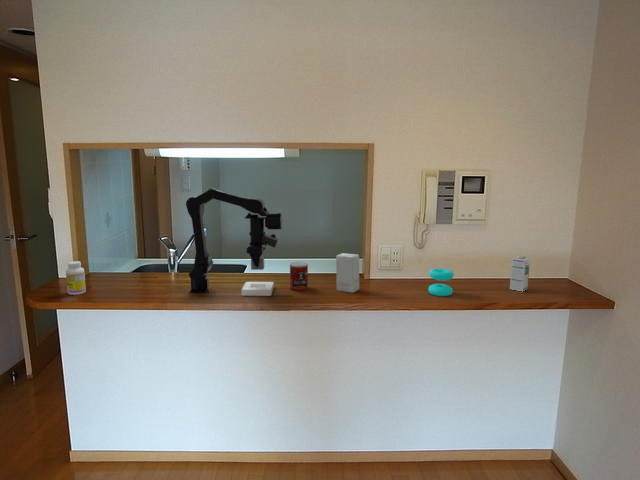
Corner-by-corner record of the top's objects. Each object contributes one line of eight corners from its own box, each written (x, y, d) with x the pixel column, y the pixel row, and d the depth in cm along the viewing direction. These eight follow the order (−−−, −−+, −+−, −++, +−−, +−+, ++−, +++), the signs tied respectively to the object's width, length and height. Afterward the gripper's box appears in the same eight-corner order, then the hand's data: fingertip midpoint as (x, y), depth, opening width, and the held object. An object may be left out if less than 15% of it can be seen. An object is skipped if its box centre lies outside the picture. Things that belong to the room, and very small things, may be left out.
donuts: (433, 266, 192) (456, 269, 187) (432, 288, 194) (455, 292, 188) (426, 271, 184) (449, 274, 178) (424, 294, 185) (448, 298, 180)
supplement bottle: (65, 293, 182) (62, 262, 179) (82, 289, 187) (79, 259, 184) (71, 296, 177) (68, 265, 175) (88, 292, 182) (86, 262, 180)
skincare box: (359, 289, 191) (360, 254, 188) (352, 293, 185) (353, 257, 183) (342, 286, 195) (343, 252, 192) (335, 290, 190) (335, 254, 187)
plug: (251, 269, 183) (250, 257, 182) (252, 267, 187) (252, 255, 186) (263, 269, 183) (263, 257, 182) (264, 267, 187) (264, 255, 186)
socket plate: (241, 295, 181) (241, 289, 180) (246, 287, 193) (246, 281, 192) (271, 295, 181) (270, 289, 181) (273, 287, 193) (273, 282, 192)
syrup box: (522, 292, 189) (526, 259, 187) (509, 289, 193) (511, 257, 191) (527, 290, 193) (530, 257, 191) (513, 287, 197) (516, 255, 195)
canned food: (292, 291, 187) (292, 266, 185) (288, 286, 195) (288, 262, 193) (309, 290, 189) (309, 265, 187) (305, 285, 197) (305, 261, 195)
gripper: (274, 233, 173) (275, 271, 176) (278, 226, 191) (278, 261, 194) (246, 232, 173) (246, 271, 176) (252, 226, 191) (253, 261, 194)
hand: (257, 266), depth 185 cm, fingers closed on plug, 4 cm apart
